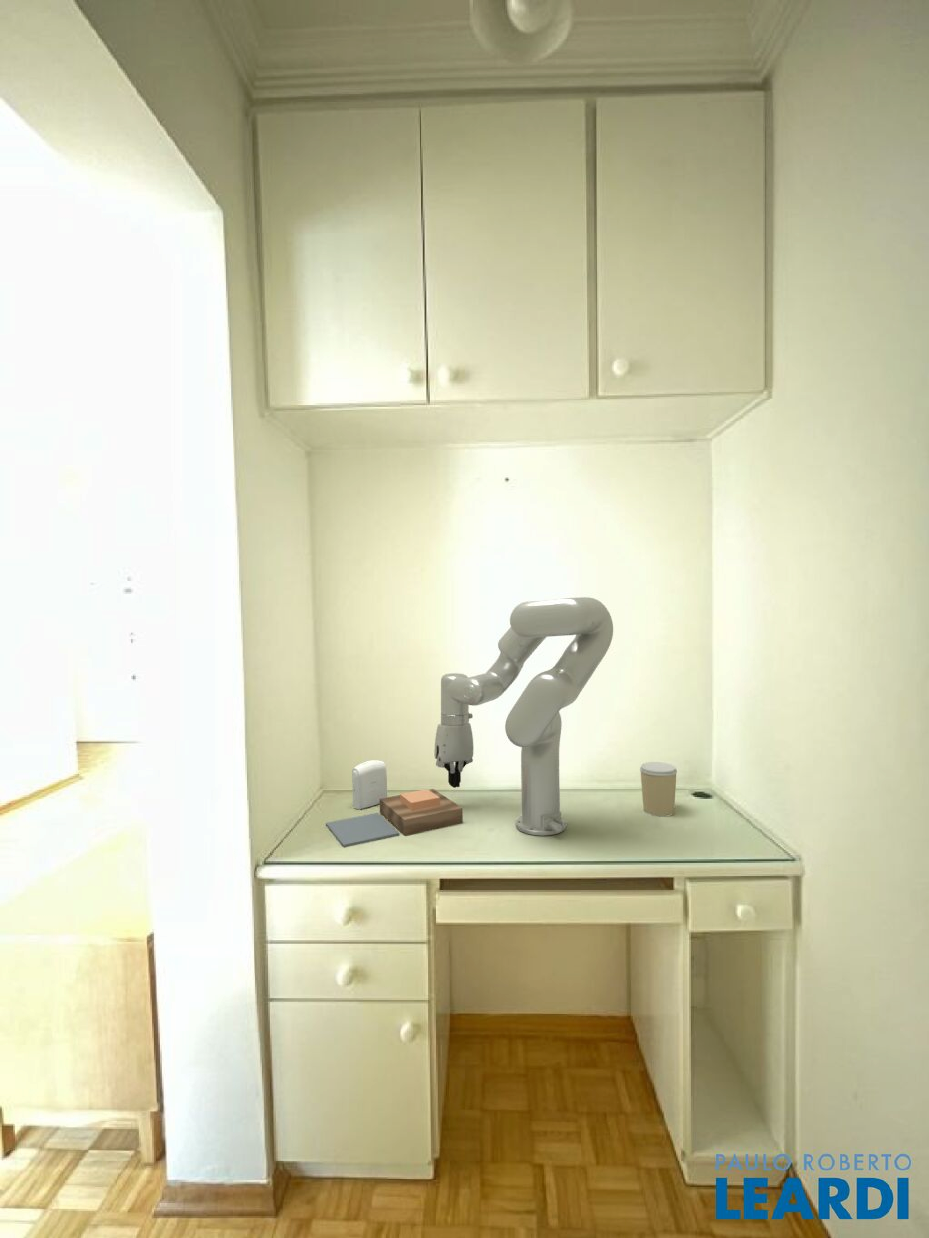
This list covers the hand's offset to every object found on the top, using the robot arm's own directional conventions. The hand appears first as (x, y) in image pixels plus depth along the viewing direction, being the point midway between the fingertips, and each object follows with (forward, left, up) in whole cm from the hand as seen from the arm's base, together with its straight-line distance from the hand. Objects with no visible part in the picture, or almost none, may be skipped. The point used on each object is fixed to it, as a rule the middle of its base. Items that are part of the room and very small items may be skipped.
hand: (454, 785), depth 165 cm
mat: (-1, +27, -7) cm, 27 cm away
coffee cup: (-29, -46, -7) cm, 55 cm away
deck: (-1, +11, -7) cm, 13 cm away
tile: (-1, +11, -3) cm, 11 cm away
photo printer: (+16, +19, -7) cm, 26 cm away
